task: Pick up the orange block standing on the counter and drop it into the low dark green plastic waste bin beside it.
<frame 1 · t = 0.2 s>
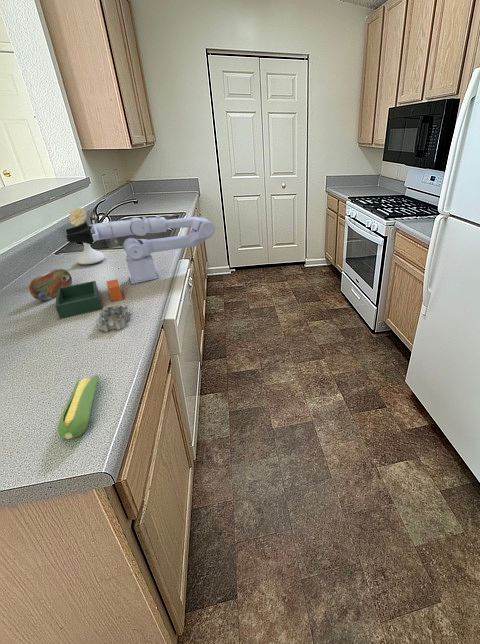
hand: (66, 235, 114), 21 cm above the counter, tool horizontal, fingers open, 7 cm apart
tin: (55, 295, 121), on the counter
flower in vase: (93, 262, 150), on the counter
grey stone: (115, 322, 102), on the counter
bin: (81, 304, 114), on the counter
edible corn: (85, 408, 71), on the counter
orange block: (116, 296, 119), on the counter
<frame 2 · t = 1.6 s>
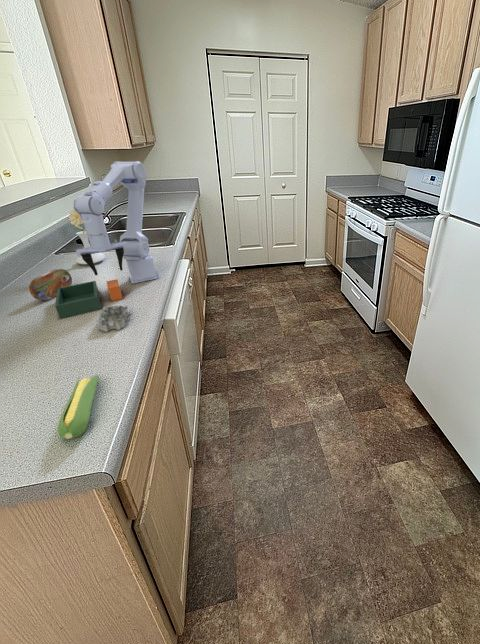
hand: (109, 271, 114), 9 cm above the counter, tool pointing down, fingers open, 7 cm apart
nothing on the counter moved.
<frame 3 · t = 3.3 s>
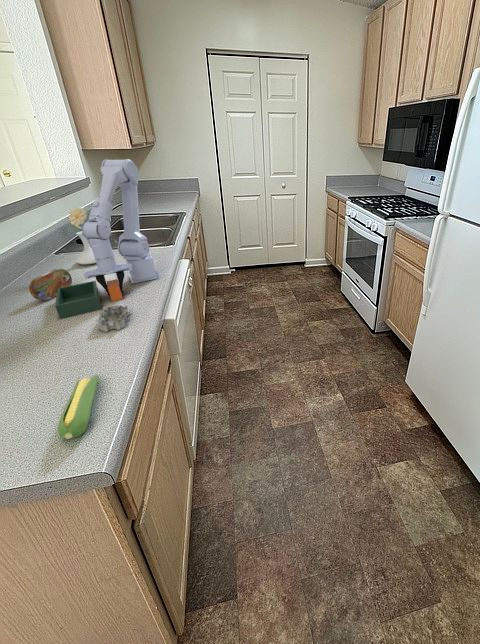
hand: (115, 292, 118), 1 cm above the counter, tool pointing down, fingers closed on orange block, 3 cm apart
orange block: (116, 296, 119), on the counter, touching gripper
everything else where it was.
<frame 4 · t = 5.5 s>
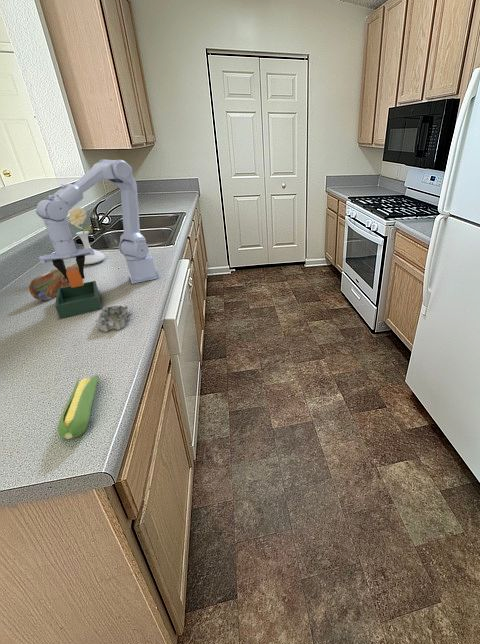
hand: (76, 279, 110), 9 cm above the counter, tool pointing down, fingers closed on orange block, 3 cm apart
orange block: (77, 282, 111), point 8 cm above the counter, touching gripper
everything else where it was.
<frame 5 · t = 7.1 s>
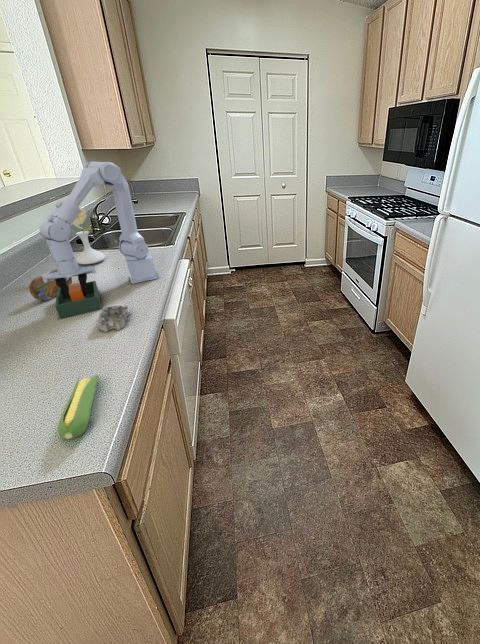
hand: (78, 296, 112), 3 cm above the counter, tool pointing down, fingers closed on orange block, 3 cm apart
orange block: (79, 300, 113), point 2 cm above the counter, touching gripper
everything else where it was.
when the fingers open (2 cm above the counter, at t = 7.8 s): orange block stays where it is, resting on bin.
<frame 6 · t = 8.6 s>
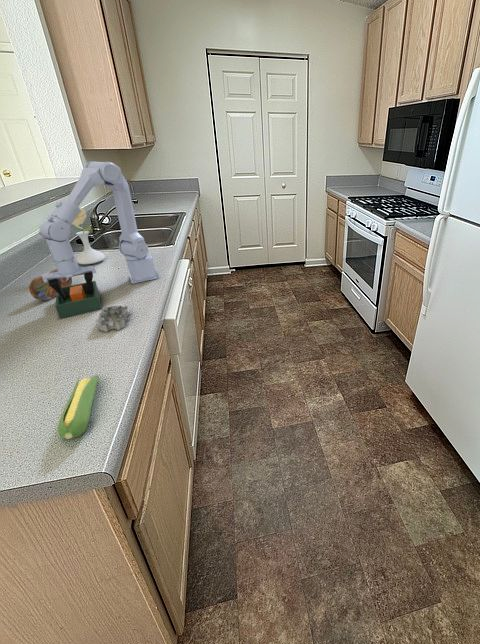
hand: (78, 296, 112), 3 cm above the counter, tool pointing down, fingers open, 7 cm apart
orange block: (80, 302, 113), resting on bin
everything else where it was.
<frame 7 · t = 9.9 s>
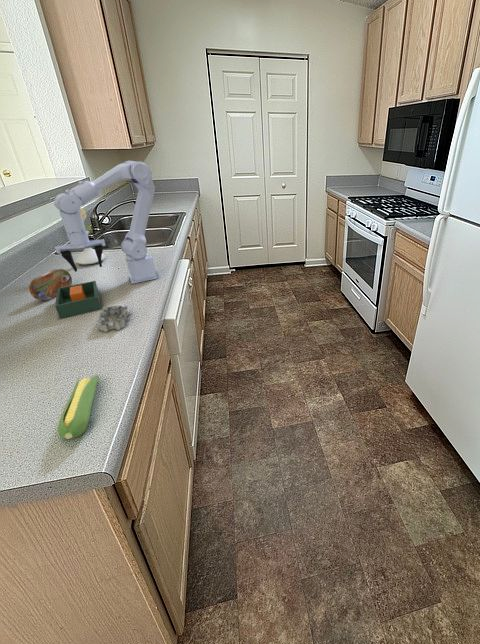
hand: (88, 268, 118), 9 cm above the counter, tool pointing down, fingers open, 7 cm apart
nothing on the counter moved.
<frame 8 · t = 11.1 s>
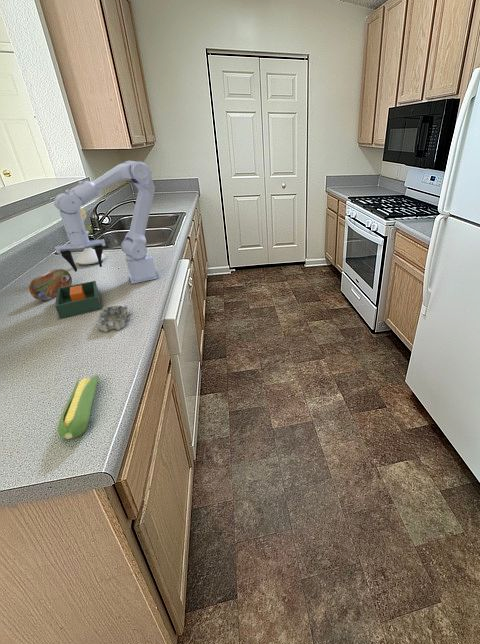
hand: (88, 268, 118), 9 cm above the counter, tool pointing down, fingers open, 7 cm apart
nothing on the counter moved.
at the end: orange block inside the target area in the bin (0.0 cm from its centre), point 0.5 cm above the bin's base; the gripper is holding nothing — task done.
